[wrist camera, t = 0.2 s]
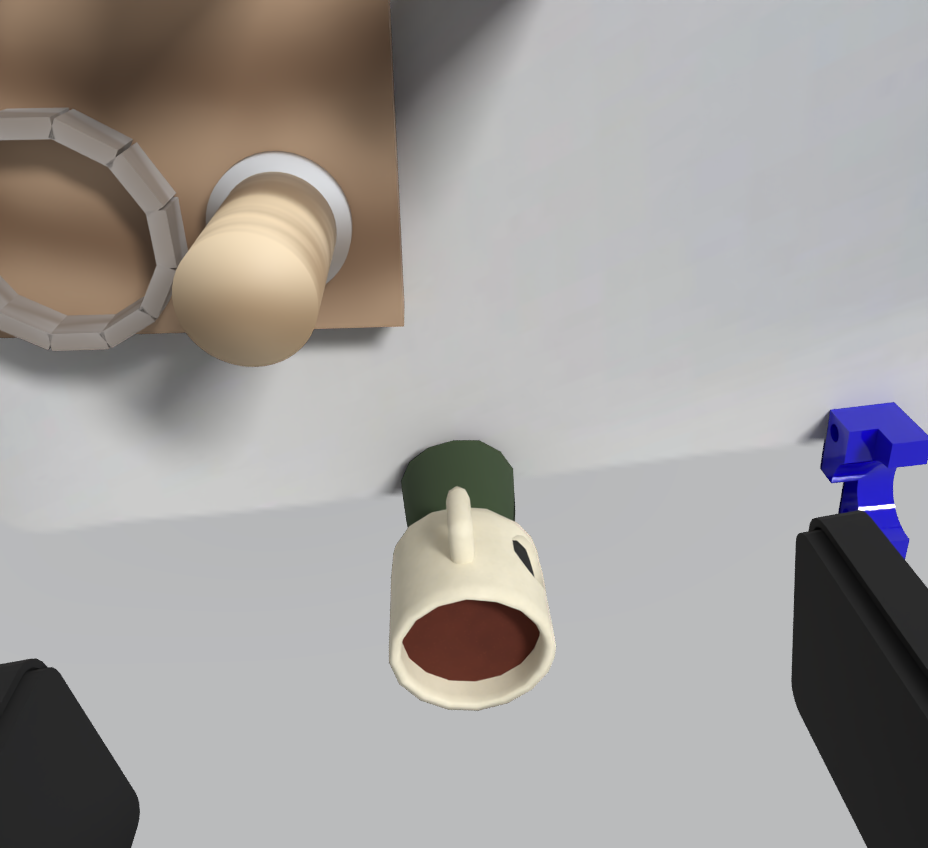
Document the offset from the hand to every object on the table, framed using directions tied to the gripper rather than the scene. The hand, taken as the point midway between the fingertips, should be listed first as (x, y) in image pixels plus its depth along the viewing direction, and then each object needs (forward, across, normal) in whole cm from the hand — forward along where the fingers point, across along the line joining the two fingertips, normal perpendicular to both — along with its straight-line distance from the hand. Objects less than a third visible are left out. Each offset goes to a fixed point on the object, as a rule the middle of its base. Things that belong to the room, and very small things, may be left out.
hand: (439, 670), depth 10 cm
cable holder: (+31, -20, +22) cm, 43 cm away
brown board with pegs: (+30, +10, -6) cm, 32 cm away
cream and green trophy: (+30, +2, +18) cm, 35 cm away
